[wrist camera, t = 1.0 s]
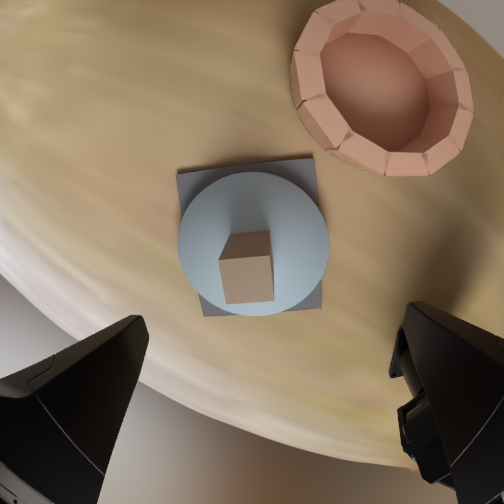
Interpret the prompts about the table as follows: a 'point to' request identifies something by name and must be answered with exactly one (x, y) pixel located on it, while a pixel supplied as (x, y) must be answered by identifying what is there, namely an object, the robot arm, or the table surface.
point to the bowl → (381, 87)
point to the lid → (253, 244)
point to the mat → (291, 170)
